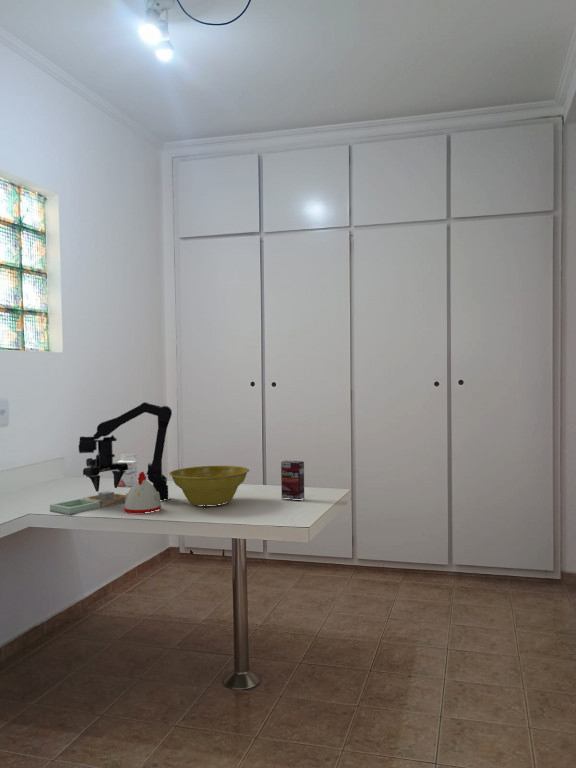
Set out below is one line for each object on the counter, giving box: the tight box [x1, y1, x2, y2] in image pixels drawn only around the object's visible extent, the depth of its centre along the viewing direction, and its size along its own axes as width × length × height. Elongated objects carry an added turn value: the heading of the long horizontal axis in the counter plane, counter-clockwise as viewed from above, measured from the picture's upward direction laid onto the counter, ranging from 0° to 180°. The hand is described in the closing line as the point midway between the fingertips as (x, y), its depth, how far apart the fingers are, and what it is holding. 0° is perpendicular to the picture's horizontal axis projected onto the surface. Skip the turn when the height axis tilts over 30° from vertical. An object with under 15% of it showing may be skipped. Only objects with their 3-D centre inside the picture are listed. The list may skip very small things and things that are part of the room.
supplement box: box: [280, 459, 305, 499], centre depth 273 cm, size 9×5×16 cm, turn 62°
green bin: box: [49, 498, 101, 516], centre depth 262 cm, size 13×14×2 cm
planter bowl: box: [168, 465, 250, 506], centre depth 268 cm, size 32×32×13 cm
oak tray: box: [82, 492, 126, 508], centre depth 274 cm, size 13×14×2 cm
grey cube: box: [97, 490, 115, 501], centre depth 274 cm, size 4×4×4 cm
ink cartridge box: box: [116, 453, 138, 487], centre depth 314 cm, size 9×5×15 cm, turn 84°
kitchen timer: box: [124, 471, 162, 514], centre depth 258 cm, size 14×14×15 cm
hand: (106, 489), depth 274 cm, fingers open, 9 cm apart
